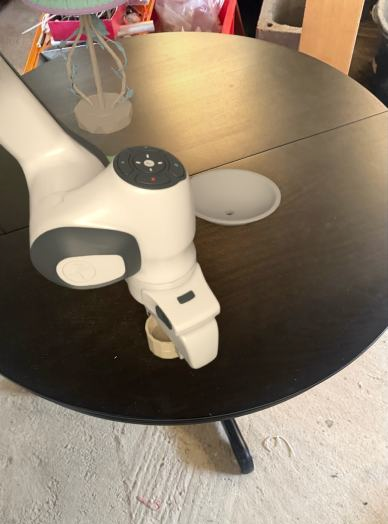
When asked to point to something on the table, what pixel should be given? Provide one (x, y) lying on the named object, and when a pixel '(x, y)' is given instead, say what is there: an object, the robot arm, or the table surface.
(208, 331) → the robot arm
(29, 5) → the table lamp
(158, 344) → the beige cup
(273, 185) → the dish
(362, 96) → the table surface
